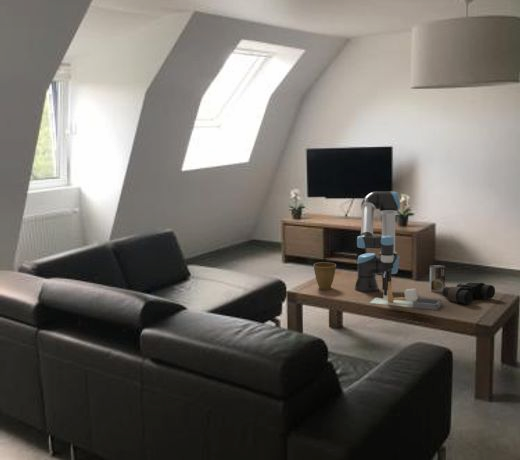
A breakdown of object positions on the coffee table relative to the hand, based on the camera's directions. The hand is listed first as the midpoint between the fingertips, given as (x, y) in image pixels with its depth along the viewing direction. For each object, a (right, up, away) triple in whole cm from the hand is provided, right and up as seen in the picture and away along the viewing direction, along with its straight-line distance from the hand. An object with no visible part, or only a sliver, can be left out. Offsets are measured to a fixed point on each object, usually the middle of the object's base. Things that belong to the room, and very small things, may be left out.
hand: (386, 299), depth 374 cm
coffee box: (+38, +3, +24) cm, 45 cm away
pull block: (+8, 0, -4) cm, 9 cm away
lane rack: (+10, -3, -5) cm, 11 cm away
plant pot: (-33, +3, +37) cm, 50 cm away
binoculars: (+49, -1, +3) cm, 49 cm away
